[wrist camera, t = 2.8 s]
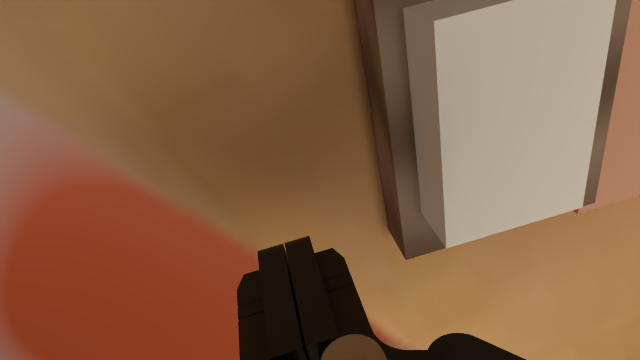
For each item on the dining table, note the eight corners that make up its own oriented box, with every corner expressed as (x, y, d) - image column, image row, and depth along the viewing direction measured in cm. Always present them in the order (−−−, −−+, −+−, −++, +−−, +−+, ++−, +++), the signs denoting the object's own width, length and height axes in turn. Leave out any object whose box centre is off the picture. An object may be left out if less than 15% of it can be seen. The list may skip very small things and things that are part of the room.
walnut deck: (344, -68, 15) (364, -68, 13) (599, -130, 16) (657, -140, 14) (388, 229, 23) (405, 259, 21) (560, 178, 23) (594, 202, 21)
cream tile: (402, 8, 15) (434, 21, 12) (564, -34, 15) (620, -29, 13) (421, 213, 19) (446, 248, 17) (543, 177, 20) (582, 207, 18)
